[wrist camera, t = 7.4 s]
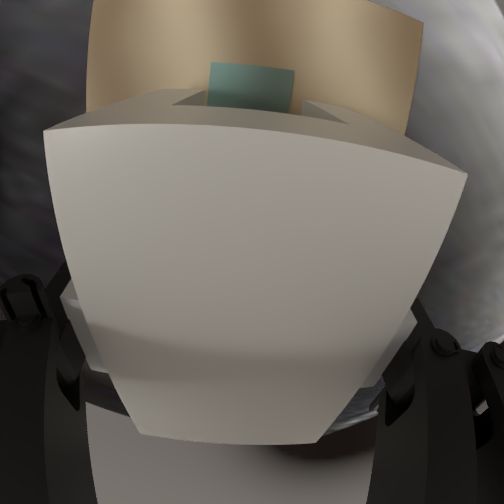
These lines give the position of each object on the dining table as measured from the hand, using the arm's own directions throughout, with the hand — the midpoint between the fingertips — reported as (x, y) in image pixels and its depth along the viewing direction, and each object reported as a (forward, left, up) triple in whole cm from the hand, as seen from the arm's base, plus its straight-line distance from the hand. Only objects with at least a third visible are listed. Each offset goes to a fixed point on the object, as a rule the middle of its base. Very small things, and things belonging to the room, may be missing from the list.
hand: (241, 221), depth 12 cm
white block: (0, 0, 0) cm, 0 cm away
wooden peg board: (0, 0, -3) cm, 3 cm away
